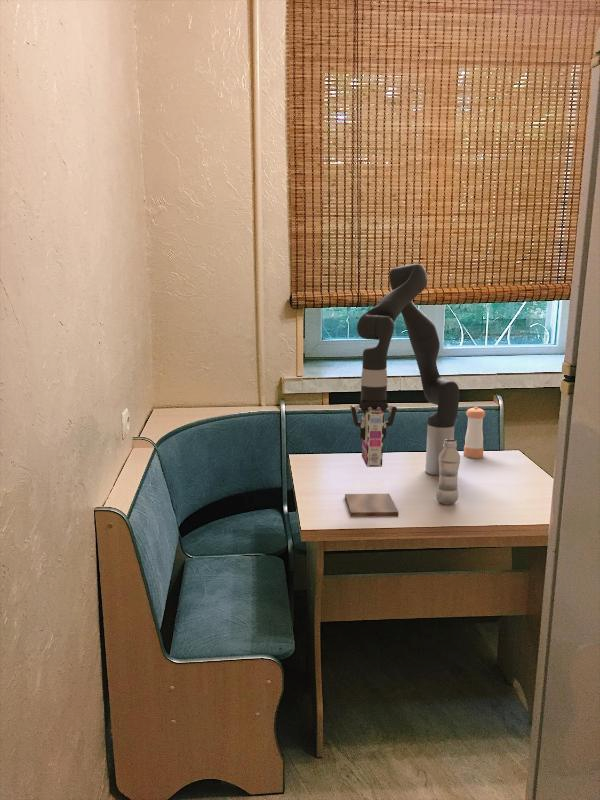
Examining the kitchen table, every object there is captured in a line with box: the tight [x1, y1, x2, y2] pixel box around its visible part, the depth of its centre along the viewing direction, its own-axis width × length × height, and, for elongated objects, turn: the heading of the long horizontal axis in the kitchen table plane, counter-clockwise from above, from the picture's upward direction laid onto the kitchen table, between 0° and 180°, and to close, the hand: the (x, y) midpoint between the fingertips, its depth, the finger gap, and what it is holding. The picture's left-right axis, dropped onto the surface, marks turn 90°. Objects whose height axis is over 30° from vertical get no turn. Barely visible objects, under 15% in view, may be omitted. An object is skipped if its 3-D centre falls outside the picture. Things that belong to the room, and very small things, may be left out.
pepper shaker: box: [463, 406, 486, 459], centre depth 265 cm, size 7×7×19 cm
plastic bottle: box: [435, 439, 461, 505], centre depth 214 cm, size 6×7×20 cm
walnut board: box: [344, 493, 399, 517], centre depth 213 cm, size 14×16×1 cm
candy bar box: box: [361, 409, 385, 468], centre depth 208 cm, size 11×5×16 cm, turn 3°
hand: (372, 439), depth 209 cm, fingers closed on candy bar box, 5 cm apart
